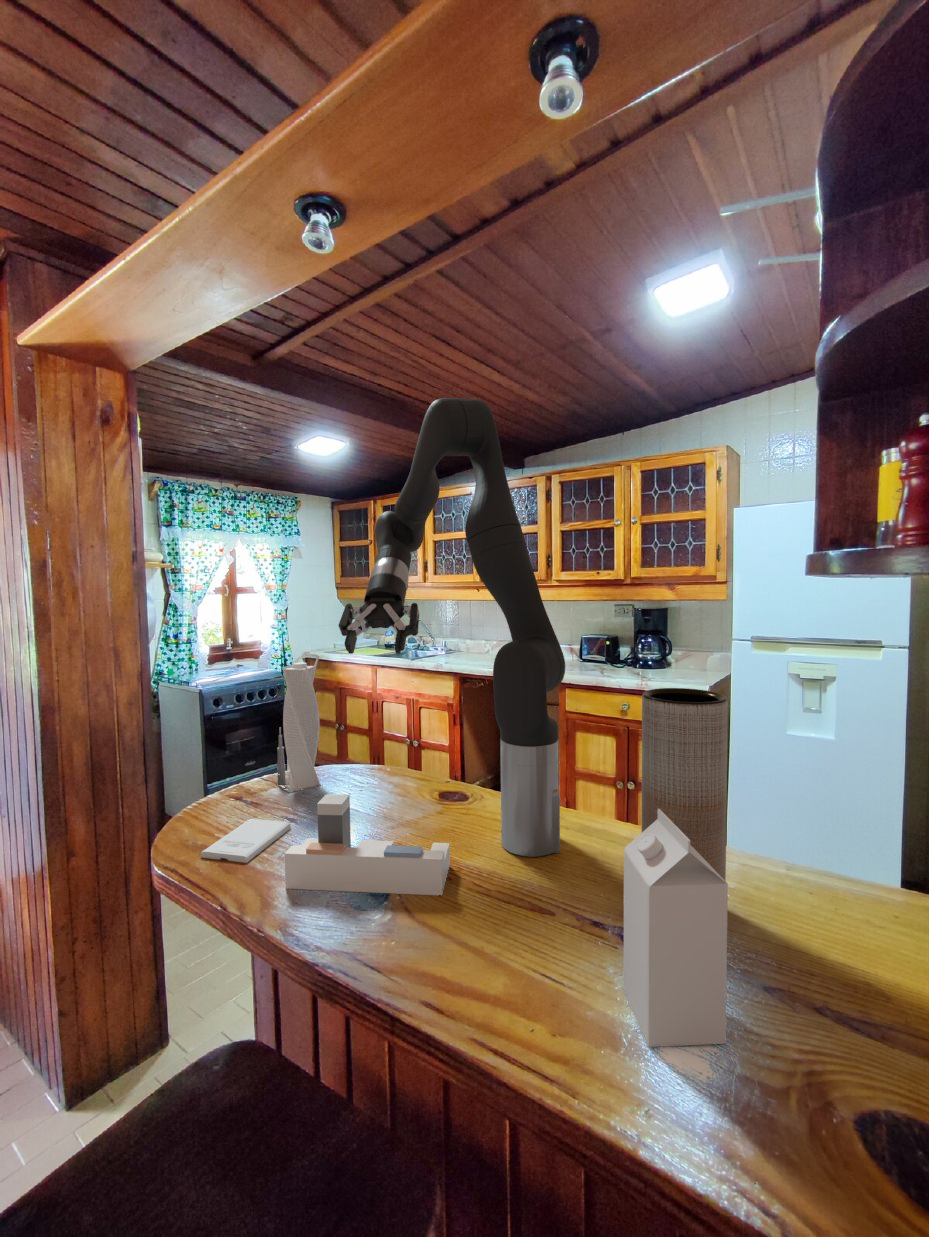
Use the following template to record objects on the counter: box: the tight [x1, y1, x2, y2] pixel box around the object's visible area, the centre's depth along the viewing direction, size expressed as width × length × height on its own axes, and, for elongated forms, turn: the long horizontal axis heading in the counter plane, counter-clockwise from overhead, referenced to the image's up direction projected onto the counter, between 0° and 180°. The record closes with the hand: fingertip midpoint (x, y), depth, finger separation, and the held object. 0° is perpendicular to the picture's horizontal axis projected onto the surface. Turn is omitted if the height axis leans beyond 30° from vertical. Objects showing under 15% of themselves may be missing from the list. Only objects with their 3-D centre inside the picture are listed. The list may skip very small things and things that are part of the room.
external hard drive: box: [200, 818, 292, 864], centre depth 91 cm, size 2×8×12 cm
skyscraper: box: [276, 654, 321, 793], centre depth 117 cm, size 8×8×28 cm
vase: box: [641, 687, 729, 882], centre depth 69 cm, size 10×10×28 cm
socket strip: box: [284, 837, 451, 897], centre depth 79 cm, size 22×8×6 cm, turn 84°
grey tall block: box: [316, 793, 352, 847], centre depth 81 cm, size 4×4×11 cm
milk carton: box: [623, 809, 729, 1048], centre depth 52 cm, size 7×7×19 cm
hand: (373, 650), depth 97 cm, fingers open, 8 cm apart
